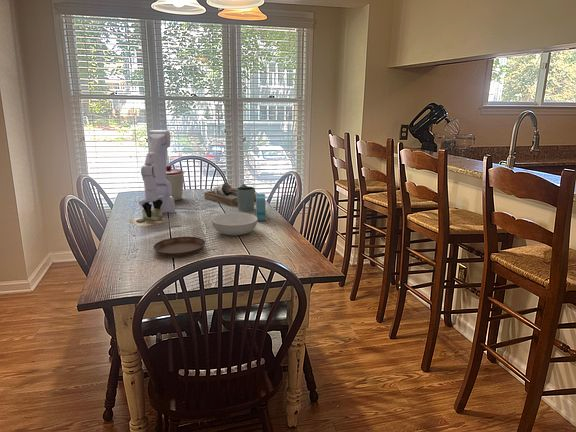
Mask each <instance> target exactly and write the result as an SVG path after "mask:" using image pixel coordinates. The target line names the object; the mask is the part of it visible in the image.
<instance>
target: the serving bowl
mask: <svg viewBox="0 0 576 432" xmlns="http://www.w3.org/2000/svg"><path fill="white" fill-rule="evenodd" d="M257 220H258V218H257V215H255V214H252V213H247V212H227V213H222V214H218V215H217V214H216V215H215V216H213V217H212V218H211V224H212V227H213V228H214V229H215V231H217V232H218V233H220V234H222V235H225V236H241V235H245V234H248V233H251V232H252V231H253V230H254V229H255V228H256V227H257V224H258V221H257Z"/></svg>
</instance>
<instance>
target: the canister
mask: <svg viewBox="0 0 576 432" xmlns="http://www.w3.org/2000/svg"><path fill="white" fill-rule="evenodd" d="M172 167H173V166H172V165H169V164H168V165H166V179H167V180H168V181H170V182H171V186H172V195H171V196H172V197H173V198H174V201H175V202H176V201H179V200H181V199H182V197H183V191H184V174H185V171H183V170H182V169H178V168H172ZM156 179H157V176H156Z"/></svg>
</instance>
